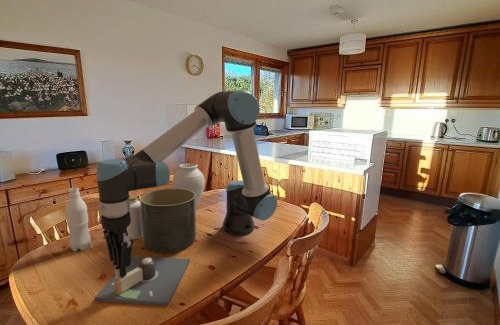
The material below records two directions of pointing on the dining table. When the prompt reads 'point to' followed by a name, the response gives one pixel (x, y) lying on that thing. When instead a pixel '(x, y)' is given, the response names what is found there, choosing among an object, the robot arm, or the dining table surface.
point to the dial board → (149, 283)
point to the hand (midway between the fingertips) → (121, 283)
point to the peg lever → (136, 275)
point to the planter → (168, 219)
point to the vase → (189, 179)
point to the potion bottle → (135, 219)
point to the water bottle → (77, 221)
